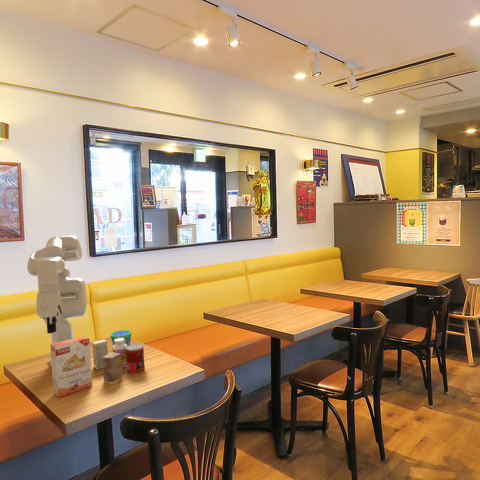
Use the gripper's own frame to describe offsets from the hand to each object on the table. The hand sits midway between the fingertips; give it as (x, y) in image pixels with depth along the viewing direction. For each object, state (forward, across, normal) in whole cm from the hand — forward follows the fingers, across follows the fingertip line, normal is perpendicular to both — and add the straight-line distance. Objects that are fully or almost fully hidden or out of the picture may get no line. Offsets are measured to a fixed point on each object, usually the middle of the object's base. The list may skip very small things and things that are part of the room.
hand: (51, 332), depth 166 cm
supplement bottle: (+24, +11, +28) cm, 38 cm away
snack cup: (+23, 0, +44) cm, 50 cm away
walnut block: (+24, +18, +14) cm, 33 cm away
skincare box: (+24, +2, +25) cm, 34 cm away
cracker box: (+24, +9, 0) cm, 26 cm away
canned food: (+24, +21, +26) cm, 41 cm away
